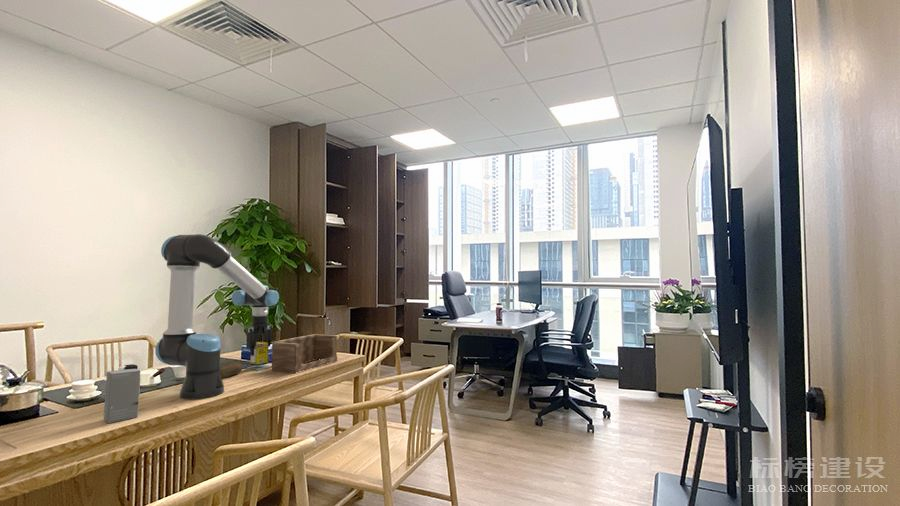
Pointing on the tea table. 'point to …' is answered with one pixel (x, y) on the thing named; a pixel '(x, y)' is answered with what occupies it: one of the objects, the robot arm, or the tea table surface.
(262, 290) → the robot arm
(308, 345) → the crate
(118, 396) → the skincare box
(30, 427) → the tea table surface
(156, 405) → the tea table surface
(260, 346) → the supplement box
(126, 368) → the medicine bottle
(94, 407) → the tea table surface
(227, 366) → the stone weight
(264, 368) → the pad
